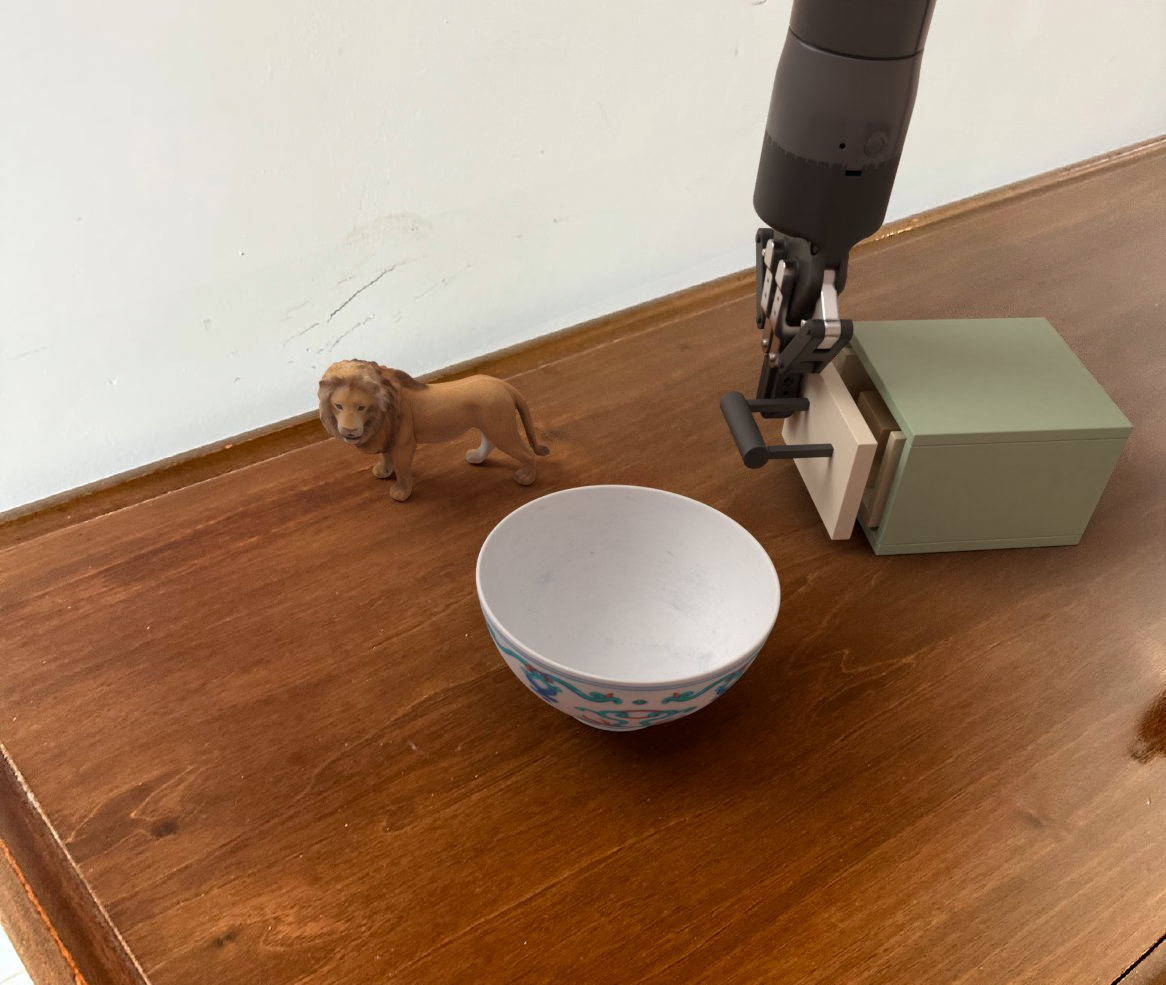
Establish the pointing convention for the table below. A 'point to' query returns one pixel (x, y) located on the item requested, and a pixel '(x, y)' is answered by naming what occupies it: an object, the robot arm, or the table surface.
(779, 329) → the robot arm
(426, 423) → the lion figurine
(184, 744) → the table surface
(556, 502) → the chinaware
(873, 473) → the birch block
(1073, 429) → the cabinet
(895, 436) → the drawer
